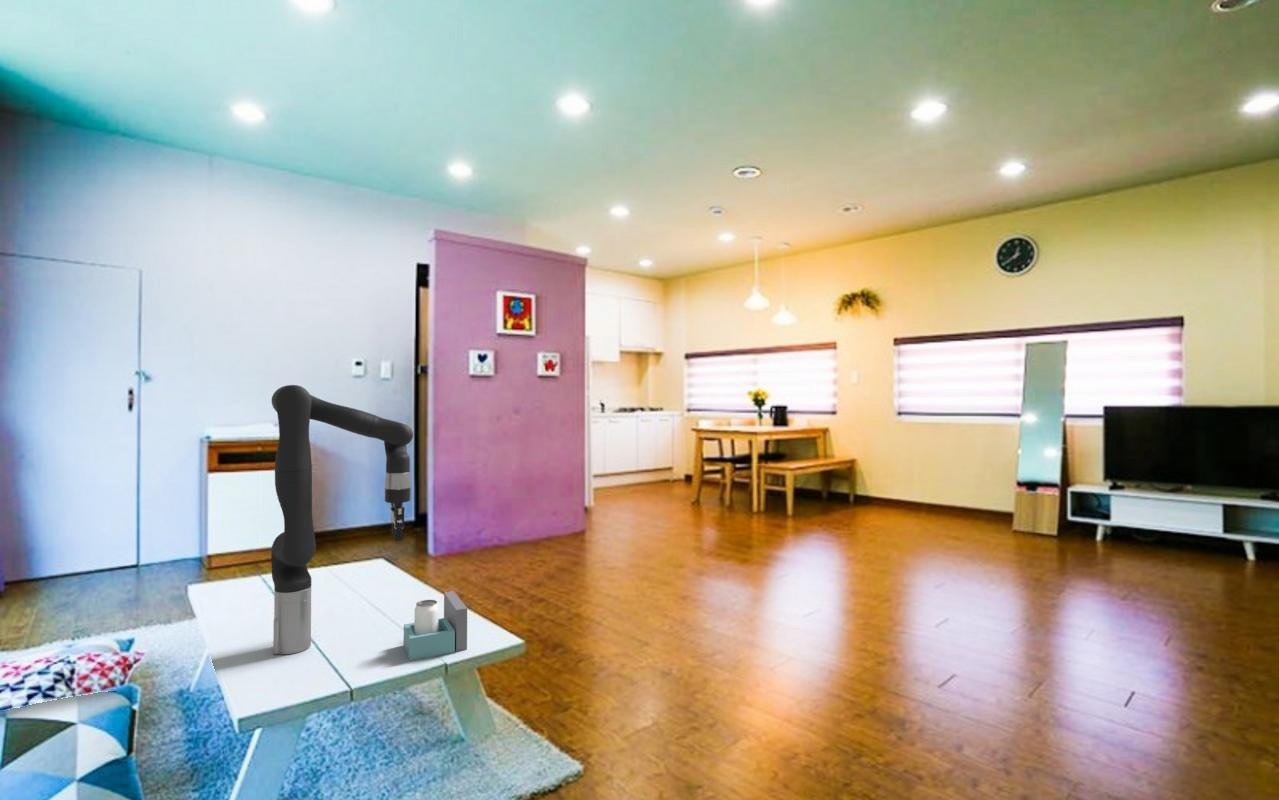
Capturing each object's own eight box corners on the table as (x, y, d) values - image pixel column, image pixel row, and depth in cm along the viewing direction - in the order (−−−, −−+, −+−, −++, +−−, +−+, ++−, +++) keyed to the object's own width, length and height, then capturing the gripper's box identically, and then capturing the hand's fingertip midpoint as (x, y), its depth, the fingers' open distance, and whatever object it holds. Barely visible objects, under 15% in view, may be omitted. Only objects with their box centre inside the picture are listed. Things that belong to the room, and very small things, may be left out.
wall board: (456, 652, 172) (456, 609, 172) (443, 631, 188) (444, 592, 188) (466, 650, 174) (467, 608, 174) (453, 629, 189) (454, 590, 189)
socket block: (409, 660, 166) (409, 638, 166) (403, 645, 176) (403, 624, 176) (454, 652, 171) (454, 631, 171) (446, 637, 182) (446, 617, 182)
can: (442, 644, 174) (442, 602, 174) (421, 651, 170) (422, 608, 170) (430, 638, 179) (431, 597, 179) (409, 645, 174) (410, 603, 174)
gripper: (382, 484, 197) (382, 534, 197) (387, 490, 184) (386, 543, 184) (407, 483, 200) (407, 532, 200) (413, 488, 187) (412, 541, 187)
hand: (397, 538), depth 192 cm, fingers open, 8 cm apart
